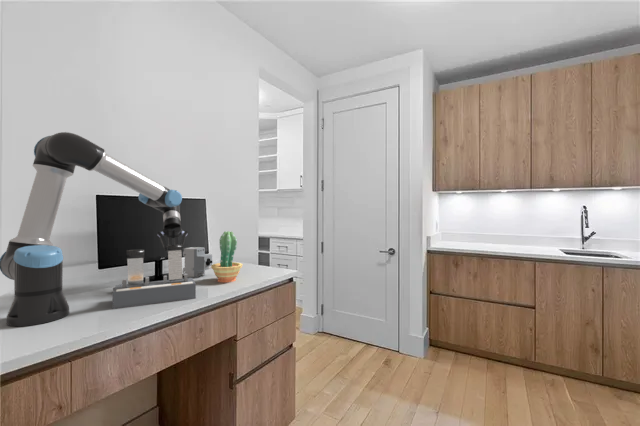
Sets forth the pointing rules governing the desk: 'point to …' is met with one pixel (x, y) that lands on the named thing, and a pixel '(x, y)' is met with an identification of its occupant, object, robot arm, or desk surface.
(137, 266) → the left lever
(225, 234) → the potted cactus
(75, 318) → the desk surface
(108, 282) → the desk surface
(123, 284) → the switch base
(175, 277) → the right lever
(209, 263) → the circuit breaker
